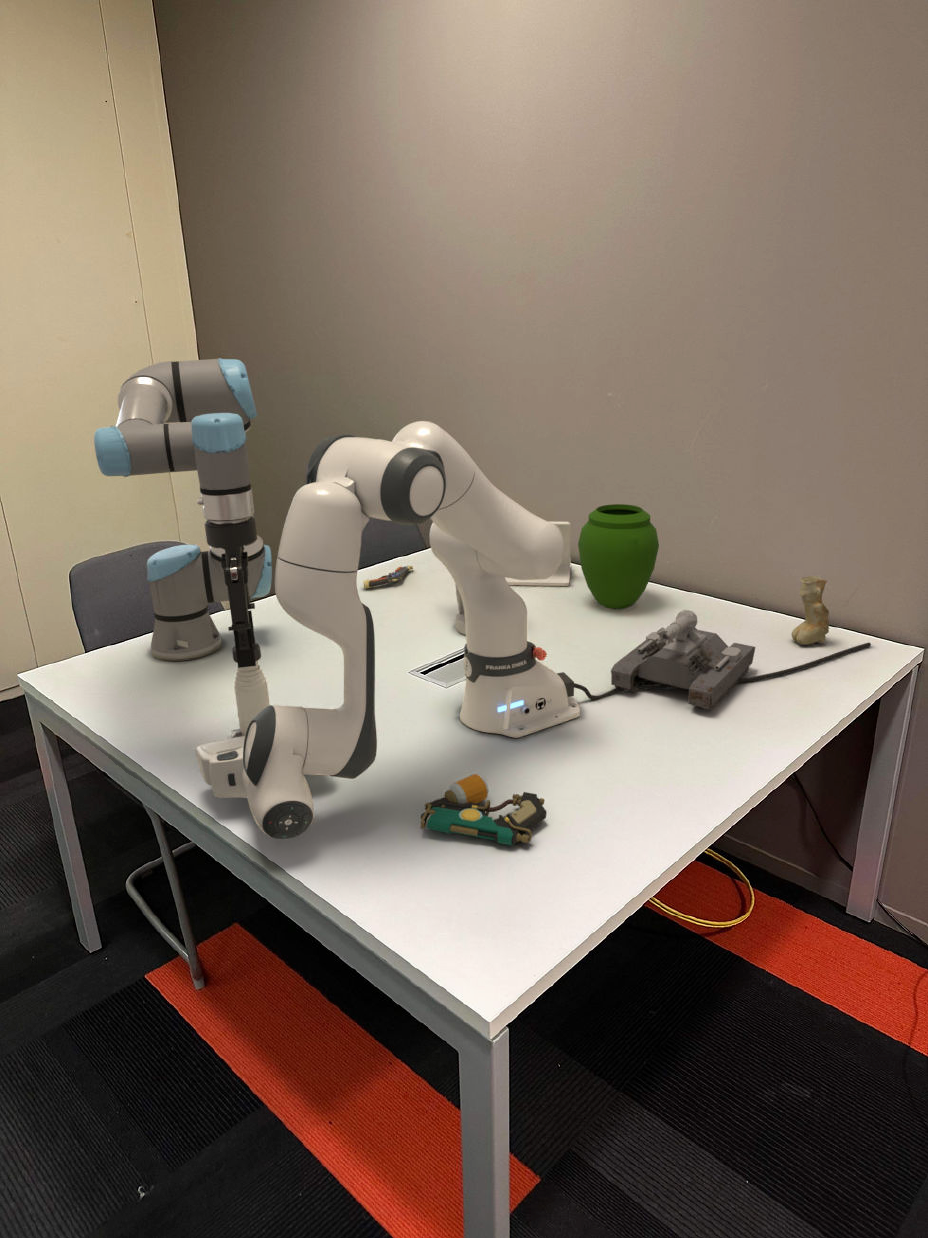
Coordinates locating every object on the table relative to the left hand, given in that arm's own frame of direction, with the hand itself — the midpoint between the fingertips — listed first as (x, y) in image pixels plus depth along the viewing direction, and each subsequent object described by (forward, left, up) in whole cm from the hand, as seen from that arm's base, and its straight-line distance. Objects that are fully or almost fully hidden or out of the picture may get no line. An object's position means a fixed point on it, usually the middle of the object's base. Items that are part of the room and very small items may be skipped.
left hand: (247, 656), depth 138 cm
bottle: (0, 0, -20) cm, 20 cm away
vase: (+2, +104, -20) cm, 106 cm away
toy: (+37, +75, -20) cm, 86 cm away
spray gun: (+40, +12, -20) cm, 47 cm away
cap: (0, 0, +1) cm, 1 cm away
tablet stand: (-31, +109, -20) cm, 115 cm away
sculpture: (+48, +110, -20) cm, 122 cm away
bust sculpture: (-18, +71, -20) cm, 76 cm away
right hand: (-1, 0, -14) cm, 14 cm away
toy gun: (-59, +82, -20) cm, 103 cm away
